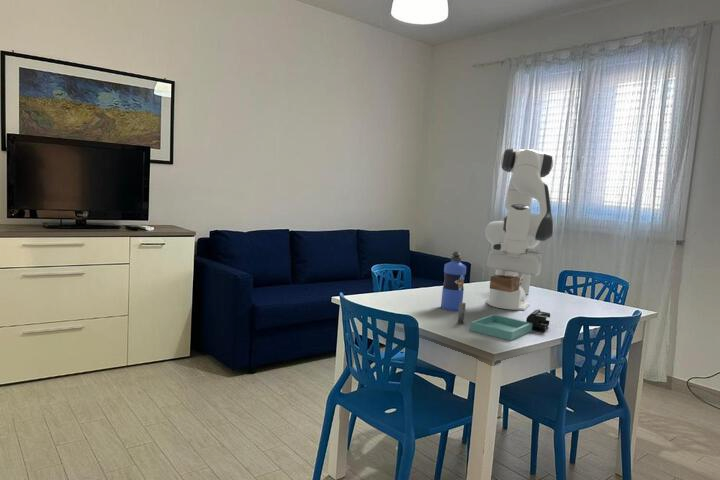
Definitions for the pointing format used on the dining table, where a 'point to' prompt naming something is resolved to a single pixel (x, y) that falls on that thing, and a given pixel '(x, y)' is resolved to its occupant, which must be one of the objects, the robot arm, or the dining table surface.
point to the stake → (461, 313)
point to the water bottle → (453, 283)
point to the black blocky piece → (539, 320)
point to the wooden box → (505, 283)
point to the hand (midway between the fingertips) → (511, 283)
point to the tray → (501, 327)
